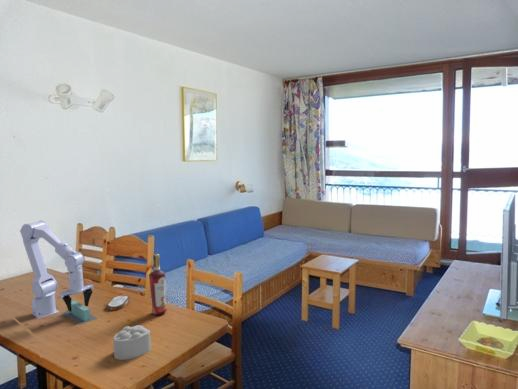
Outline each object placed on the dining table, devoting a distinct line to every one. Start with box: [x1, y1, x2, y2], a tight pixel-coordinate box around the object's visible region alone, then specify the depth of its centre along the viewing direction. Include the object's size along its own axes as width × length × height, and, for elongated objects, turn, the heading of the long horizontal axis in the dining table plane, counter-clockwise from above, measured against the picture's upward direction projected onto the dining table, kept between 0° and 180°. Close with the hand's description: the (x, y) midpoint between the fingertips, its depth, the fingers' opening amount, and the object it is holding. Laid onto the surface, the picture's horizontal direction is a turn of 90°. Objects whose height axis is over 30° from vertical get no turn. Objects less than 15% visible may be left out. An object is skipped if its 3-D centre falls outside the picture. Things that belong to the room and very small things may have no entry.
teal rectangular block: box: [70, 300, 91, 321], centre depth 178 cm, size 16×2×5 cm, turn 48°
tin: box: [106, 295, 131, 312], centre depth 191 cm, size 15×3×8 cm
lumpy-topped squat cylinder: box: [112, 324, 152, 361], centre depth 146 cm, size 10×13×9 cm
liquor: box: [148, 253, 167, 316], centre depth 179 cm, size 7×7×28 cm
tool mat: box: [61, 310, 98, 325], centre depth 179 cm, size 8×20×1 cm, turn 48°
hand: (78, 308), depth 179 cm, fingers open, 7 cm apart
